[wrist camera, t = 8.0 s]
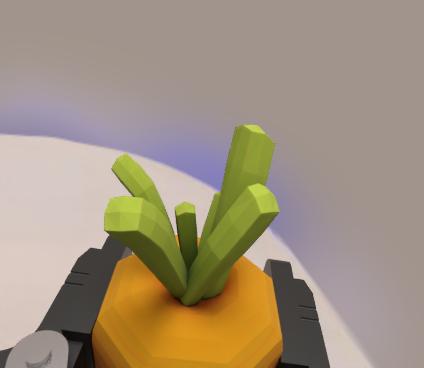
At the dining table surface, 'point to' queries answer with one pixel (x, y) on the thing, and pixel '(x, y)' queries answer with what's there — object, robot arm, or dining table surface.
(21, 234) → the dining table surface
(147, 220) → the carrot
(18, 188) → the dining table surface
